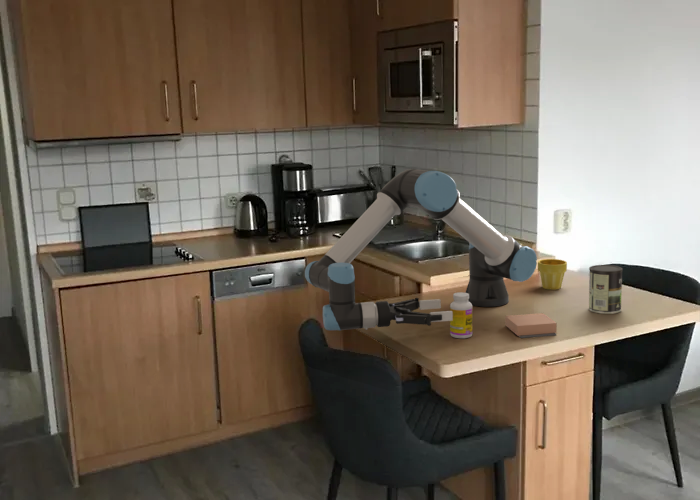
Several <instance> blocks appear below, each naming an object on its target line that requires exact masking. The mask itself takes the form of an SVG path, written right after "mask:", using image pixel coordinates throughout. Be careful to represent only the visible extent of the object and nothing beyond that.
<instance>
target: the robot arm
mask: <svg viewBox="0 0 700 500" xmlns="http://www.w3.org/2000/svg"><path fill="white" fill-rule="evenodd" d="M408 208H416V209H417V208H418V209H420V210H422V211H423V212H424V213H425V214H427V215H428V216H429V217H430V218H432V219H433V220H435V221H438V220H441V221H443V222H444V223H445V225H448V226H449V227H450V228H451V229H452V230H454V231H455V232H456V233H458V235H460V236H461V237H462V238H464V240H466V242H468V243H469V245H468V246H469V247H468V261H469V262H468V264H469V265H468V266H469V267H468V268H469V269H468V270H469V280H468V283H467V287H466V289H465V292H464V293H468V294H469V299H468V301H469V302H470V303H471V304H472V306H475V307H484V308H489V307H491V308H493V307H500V306H504V305H506V304H508V303H509V301H510V299H509V298H510V297H509V296H510V295H509V292H508V289H507V286H506V284H505V280H504V279H508V280H511V281H513V282H521V283H523V282H525V281H527V280H529V279H530V278H532V276H533V274H534V273H535V271H536V268H537V266H538V261H537V260H538V257H537V252H536V251H535V250H534V249H533V248H531V247H529V246H528V245H522V244H521V243H519V242H518V241H517V240H516V239H515V238H514V237H512V236H511V235H510V234H502V233H501V232H499V230H497V229H496V228H495V227H494V226H493V225H491V224H490V223H489V222H488V221H487V220H485V219H484V217H483V216H481V215H480V214H479V213H477V212H476V211H475V210H474V208H472V207H471V206H470V205H468V204H467V203H466V202H465V201H464V200H462V199H461V195H460V190H458V189H457V183H456V182H455V180H454V179H453V178H452V177H451V175H449V174H446V173H445V172H442V171H439V170H427V169H426V170H424V169H416V168H411V169H410V168H409V169H405V170H403V171H401V172H399V173H398V174H397V175H395V176H394V177H393V178H392V179H391V180H389V181H388V182H387V183H386V184H385V185H384V186H383V187H382V188H381V189H380V190H379V191H378V192H377V194H376V199H375V200H374V201H373V203H372V204H370V205H369V207H368V208H367V209H366V210H365V211H364V212H363V213H362V214H361V216H360V217H359V218H358V219H357V220H356V221H355V222H354V223H353V224H352V225H351V226H350V227H349V228H348V230H347V231H345V233H344V234H343V235H342V236H341V237H340V238H339V239H338V240H337V241H336V242H335V243H334V244H333V245H332V247H331V248H330V249H329V250H328V251H326V253H325V254H324V255H323V256H322V257H321V258H320V259H319V260H315V261H311V262H309V263H308V264H307V265H306V267H305V270H304V278H305V279H306V282H308V283H309V284H310V285H312V287H313V286H314V287H315V288H319V289H321V290H323V291H324V292H325V291H326V292H328V296H329V297H328V299H329V302H328V303H329V304H328V303H327V304H325V305H323V306H322V321H323V322H322V323H323V327H324V329H325V330H326V331H344V330H358V329H364V330H366V331H367V330H368V329H369V328H375V327H378V328H387V327H388V328H389V326H390V325H391V321H395V324H397V325H398V324H410V325H422V326H423V325H425V326H431V325H432V323H436V322H437V323H438V322H439V323H440V322H450V321H453V312H452V311H450V310H446V311H431V312H428V313H426V312H420V311H418V312H417V311H416V310H422V311H424V310H435V309H441V308H442V305H441V304H442V303H441V299H440V298H437V299H435V298H433V299H423V300H422V299H419V297H415V298H411V299H407V300H402V301H397V302H393V303H392V302H389V301H387V300H382V301H381V300H379V301H376V302H374V301H366V302H356V294H355V293H356V287H355V285H356V284H355V283H356V282H355V281H356V280H355V279H356V277H355V268H354V266H353V264H352V262H354V259H356V258H357V256H358V255H359V254H360V253H361V252H362V251H363V250H364V249H365V248H366V246H368V244H369V243H370V242H371V241H372V240H373V239H374V238H375V237H377V235H378V234H379V232H380V231H382V230H383V228H384V227H385V226H386V225H387V224H388V223H389V222H390V221H391V220H392V219H393V217H395V216H400V215H401V213H402V212H404V211H405V210H406V209H408Z"/></svg>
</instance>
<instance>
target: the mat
mask: <svg viewBox="0 0 700 500" xmlns="http://www.w3.org/2000/svg"><path fill="white" fill-rule="evenodd" d="M551 336H557V332H556V333H546V334H533V335H521V336H518V337H519V338H520V339H525V338H537V337H539V338H540V337H551Z"/></svg>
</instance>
